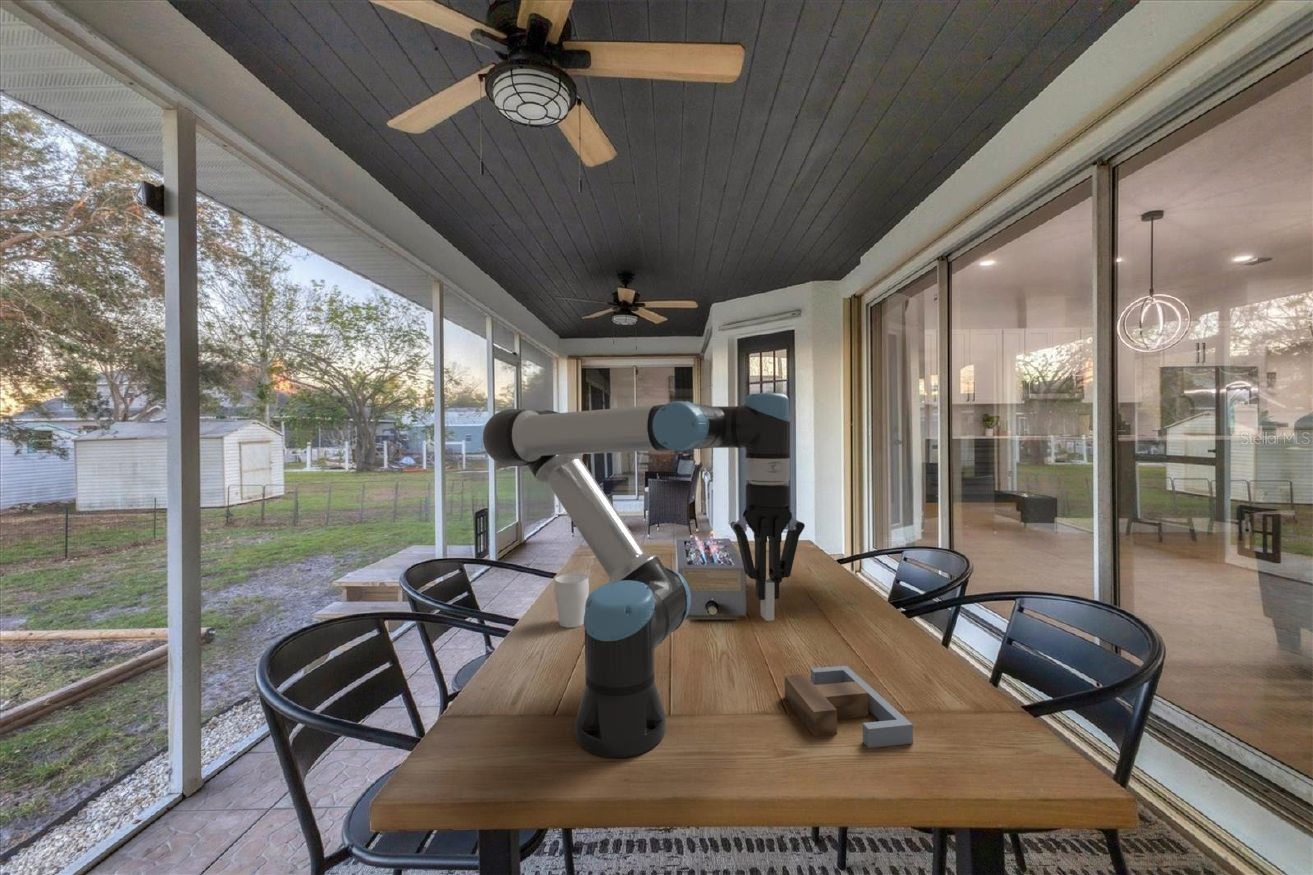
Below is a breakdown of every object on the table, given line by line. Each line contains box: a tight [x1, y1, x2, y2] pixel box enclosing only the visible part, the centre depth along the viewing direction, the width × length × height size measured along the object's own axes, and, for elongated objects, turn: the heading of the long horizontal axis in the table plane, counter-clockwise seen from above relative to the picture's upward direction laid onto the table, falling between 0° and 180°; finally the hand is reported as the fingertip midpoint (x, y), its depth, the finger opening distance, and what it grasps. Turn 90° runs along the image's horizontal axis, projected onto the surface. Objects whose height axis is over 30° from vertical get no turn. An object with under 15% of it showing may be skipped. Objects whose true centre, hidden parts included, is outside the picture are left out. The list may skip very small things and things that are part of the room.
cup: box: [554, 573, 590, 629], centre depth 128 cm, size 9×9×12 cm
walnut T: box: [784, 673, 869, 737], centre depth 86 cm, size 12×12×4 cm
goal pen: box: [810, 665, 914, 749], centre depth 86 cm, size 8×20×3 cm, turn 8°
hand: (767, 617), depth 84 cm, fingers closed
